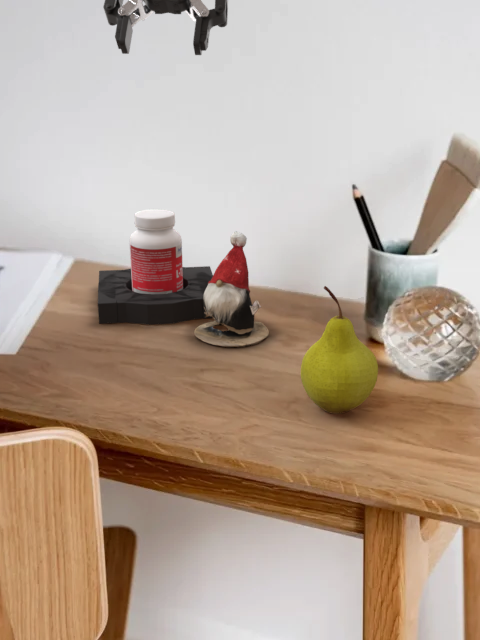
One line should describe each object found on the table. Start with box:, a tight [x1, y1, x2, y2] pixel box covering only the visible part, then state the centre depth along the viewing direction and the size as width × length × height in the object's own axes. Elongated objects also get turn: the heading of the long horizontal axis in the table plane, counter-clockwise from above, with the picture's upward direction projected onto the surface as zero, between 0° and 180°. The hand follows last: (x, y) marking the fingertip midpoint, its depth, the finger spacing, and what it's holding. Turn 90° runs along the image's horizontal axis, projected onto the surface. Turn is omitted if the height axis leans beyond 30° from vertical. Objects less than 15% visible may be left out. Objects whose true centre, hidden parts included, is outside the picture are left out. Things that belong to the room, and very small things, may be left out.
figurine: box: [193, 230, 270, 348], centre depth 93 cm, size 8×10×12 cm
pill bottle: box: [129, 208, 184, 294], centre depth 100 cm, size 6×6×11 cm
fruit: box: [300, 285, 379, 414], centre depth 75 cm, size 7×7×12 cm
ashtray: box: [97, 265, 214, 326], centre depth 102 cm, size 14×14×2 cm
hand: (160, 49), depth 96 cm, fingers open, 8 cm apart
